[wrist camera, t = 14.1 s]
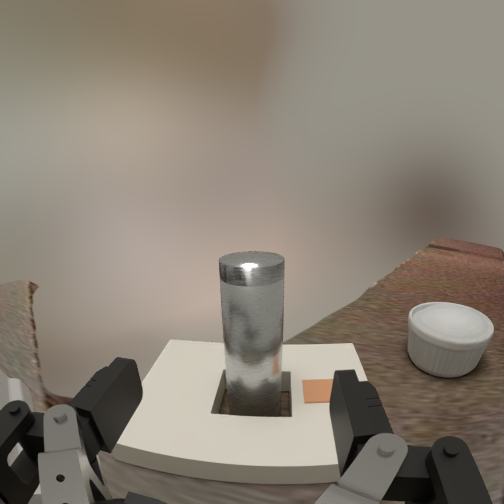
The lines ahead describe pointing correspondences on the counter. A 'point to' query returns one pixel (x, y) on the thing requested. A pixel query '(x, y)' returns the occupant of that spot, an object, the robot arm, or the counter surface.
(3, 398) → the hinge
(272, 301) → the grey capped tube
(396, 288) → the counter surface
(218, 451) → the hole plate
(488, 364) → the counter surface
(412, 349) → the ramekin
